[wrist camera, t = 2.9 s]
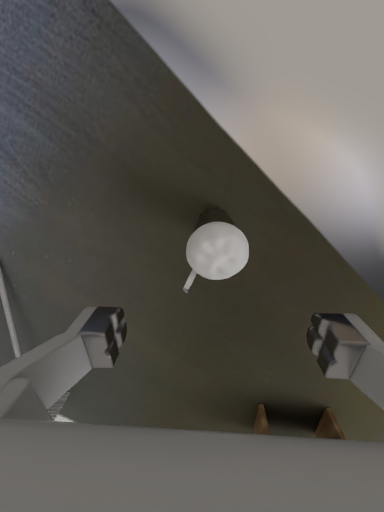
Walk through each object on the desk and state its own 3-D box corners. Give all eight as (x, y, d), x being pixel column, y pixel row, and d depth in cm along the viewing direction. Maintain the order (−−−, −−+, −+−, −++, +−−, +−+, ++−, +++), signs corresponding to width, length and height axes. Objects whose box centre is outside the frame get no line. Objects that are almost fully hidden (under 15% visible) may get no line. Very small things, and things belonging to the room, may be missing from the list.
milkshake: (179, 225, 23) (160, 269, 14) (216, 191, 21) (222, 216, 12) (206, 253, 24) (206, 310, 15) (243, 223, 22) (269, 267, 13)
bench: (330, 408, 35) (368, 484, 27) (318, 433, 38) (349, 507, 30) (258, 403, 35) (274, 476, 27) (253, 428, 39) (265, 499, 31)
